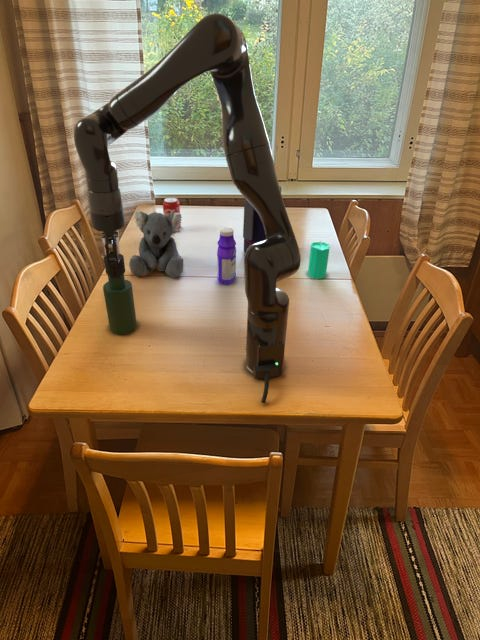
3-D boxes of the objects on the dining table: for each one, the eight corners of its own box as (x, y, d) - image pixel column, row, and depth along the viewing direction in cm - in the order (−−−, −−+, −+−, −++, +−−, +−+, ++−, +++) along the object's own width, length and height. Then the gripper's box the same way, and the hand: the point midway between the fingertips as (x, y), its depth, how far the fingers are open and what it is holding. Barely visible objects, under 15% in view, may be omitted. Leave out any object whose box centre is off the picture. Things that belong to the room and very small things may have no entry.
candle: (305, 276, 155) (308, 242, 148) (311, 268, 159) (315, 235, 152) (322, 280, 152) (326, 246, 146) (328, 272, 157) (333, 239, 150)
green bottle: (137, 333, 126) (130, 277, 117) (110, 336, 125) (100, 280, 115) (136, 318, 132) (129, 264, 123) (109, 321, 131) (100, 266, 121)
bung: (126, 283, 119) (123, 260, 115) (107, 284, 118) (103, 262, 114) (126, 274, 123) (123, 252, 119) (107, 275, 122) (103, 254, 118)
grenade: (257, 243, 175) (260, 161, 158) (283, 253, 169) (290, 168, 152) (233, 256, 166) (234, 170, 149) (260, 266, 160) (264, 178, 143)
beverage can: (162, 227, 185) (160, 198, 179) (177, 225, 188) (176, 195, 181) (167, 233, 181) (165, 203, 174) (183, 231, 183) (181, 201, 176)
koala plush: (128, 278, 151) (121, 220, 140) (138, 254, 166) (132, 199, 155) (183, 279, 151) (180, 221, 140) (187, 254, 166) (185, 200, 155)
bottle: (232, 286, 148) (233, 235, 138) (215, 284, 149) (214, 233, 139) (237, 276, 154) (238, 225, 144) (220, 274, 155) (220, 223, 145)
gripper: (90, 197, 115) (100, 259, 124) (88, 219, 103) (99, 286, 112) (121, 195, 116) (129, 257, 125) (123, 217, 104) (132, 283, 114)
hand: (115, 270), depth 119 cm, fingers open, 6 cm apart
